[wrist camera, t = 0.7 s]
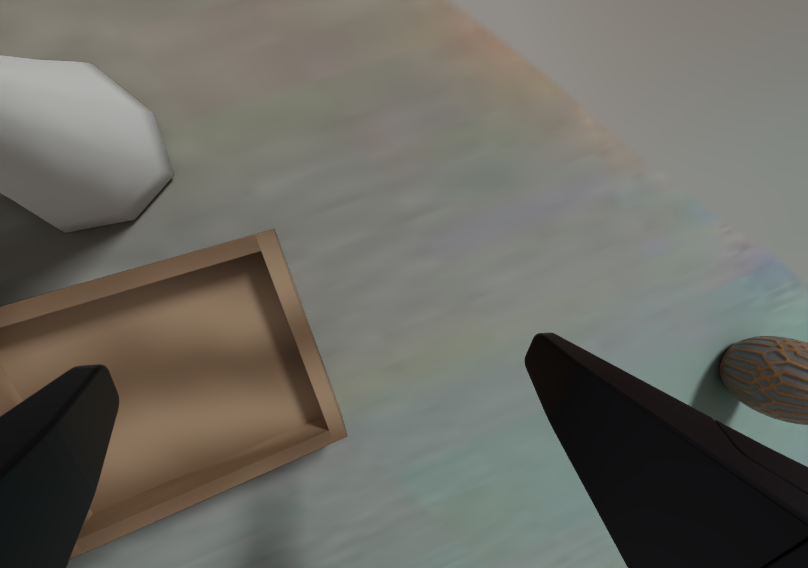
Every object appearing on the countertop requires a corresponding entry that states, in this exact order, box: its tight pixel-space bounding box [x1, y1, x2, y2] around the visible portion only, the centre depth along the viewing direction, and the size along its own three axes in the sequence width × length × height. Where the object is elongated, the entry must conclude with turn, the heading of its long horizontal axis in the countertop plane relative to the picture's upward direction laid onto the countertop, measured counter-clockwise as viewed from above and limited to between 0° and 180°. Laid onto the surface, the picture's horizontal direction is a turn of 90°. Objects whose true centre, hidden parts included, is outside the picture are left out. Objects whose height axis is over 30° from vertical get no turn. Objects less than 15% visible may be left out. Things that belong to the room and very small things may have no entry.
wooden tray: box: [0, 229, 347, 560], centre depth 18 cm, size 12×14×2 cm
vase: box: [720, 336, 808, 425], centre depth 29 cm, size 7×7×9 cm
